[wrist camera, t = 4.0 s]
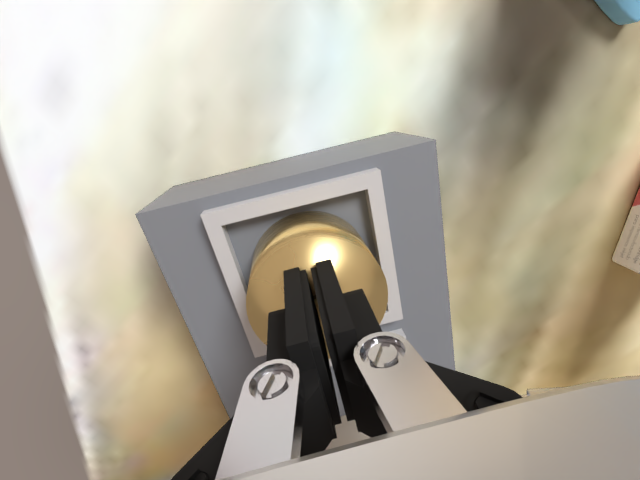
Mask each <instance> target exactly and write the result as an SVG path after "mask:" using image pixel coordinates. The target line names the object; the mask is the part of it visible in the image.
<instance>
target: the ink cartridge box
mask: <svg viewBox="0 0 640 480" xmlns="http://www.w3.org/2000/svg"><path fill="white" fill-rule="evenodd" d="M612 261H614V262H616V263H618V264H620V265H622V266H624V267H626V268H628V269H630V270H632V271H635V272H637V273H639V274H640V187H639V190H638V193H637V195H636V198H635V200H634V203H633V205H632V208H631V210H630V213H629V215H628V218H627V221H626V223H625V226H624V228H623V231H622V233H621V236H620V239H619V241H618V244H617V246H616V249H615V251H614V254H613V257H612Z"/></svg>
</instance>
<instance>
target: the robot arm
mask: <svg viewBox="0 0 640 480" xmlns="http://www.w3.org/2000/svg"><path fill="white" fill-rule="evenodd" d="M310 269H311V274H312V278H313V283H314V288H315V293H316V298H317V303H318V307H319V312H320V317H321V322H322V327H323V331H324V335H323V331H322V327H321V324H320V320H319V316H318V313H317V309H316V305H315V302H314V298H313V294H312V291H311V287H310V283H309V279H308V276H307V272H306V269H305V270H301V271H300V269H299V267H296V268H292V269H288V270H284V271H283V276H284V303H285V308H284V309H281V310H277V311H273V312H269V314H268V332H267V355H266V362H265V363H263V364H261V365H259V366H258V367H257V368H255V369H254V370H253V371H252V372H251V373H250V374H249V375H248V376H247V378H246V380H245V382H244V384H243V387H242V391H241V394H240V397H239V401H238V404H237V408H236V411H235V414H234V416H233V417H232V418H231V419H230V420H229V421H228V422H227V423H226V424H225V425H224V426H223V427H222V428H221V429H220V430H219V431H218V432H217V433H216V434H215V435H214V436H213V437H212V438H211V439H210V440H209V441H208V442H207V443H206V444H205V445H204V446H203V447H202V448H201V449H200V450H199V451H198V452H197V453H196V454H195V455H194V456H193V457H192V458H191V459H190V460H189V461H188V462H187V463H186V464H185V465H184V467H183V468H182V469H181V470H180V471H179V472H178V473H177V474H176V475H175V476H174V477H173V478H172V479H171V480H640V375H639V376H626V377H618V378H611V379H603V380H597V381H593V382H588V383H584V384H579V385H574V386H569V387H558V388H541V389H527V395H519V394H517V393H516V392H515V391H513V390H510V389H508V388H506V387H504V386H501V385H498V384H494V383H491V382H488V381H485V380H482V379H479V378H476V377H473V376H470V375H467V374H464V373H461V372H458V371H454V370H451V369H448V368H445V367H442V366H439V365H436V364H433V363H430V362H427V361H424V359H423V358H422V357H421V356H420V355H419V353H418V352H417V351H416V350H415V349H414V347H413V346H412V345H411V344H410V343H409V341H408V340H406V339H405V338H404V337H403V336H401V335H399V334H396V333H392V332H383V331H382V329H381V327H380V325H379V323H378V321H377V319H376V317H375V314H374V312H373V310H372V308H371V306H370V304H369V302H368V300H367V297H366V295H365V293H364V291H363V289H358V290H354V291H350V292H346V293H342V290H341V287H340V285H339V282H338V279H337V276H336V273H335V270H334V268H333V265H332V262H331V259H327V260H323V261H320V262H316V267H313V268H310ZM324 336H325V339H324ZM325 340H326V344H327V348H328V351H329V355H330V359H331V362H332V366H333V370H334V374H335V377H336V381H337V385H338V388H339V392H340V396H341V399H342V403H343V407H344V410H345V414H346V418H347V421H352V420H355V422H356V426H357V430H358V432H362V433H363V434H365V435H367V436H369V437H371V438H369V439H365V440H361V441H357V442H354V443H350V444H346V445H343V446H339V447H335V448H332V449H328V450H325V449H326V448H327V447H328V445H329V444H330V442H331V441H332V439H336V438H337V435H336V429H335V425H337V424H341V423H342V422H341V417H340V412H339V407H338V402H337V398H336V393H335V388H334V383H333V378H332V373H331V368H330V363H329V358H328V354H327V349H326V344H325Z"/></svg>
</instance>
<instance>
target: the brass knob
mask: <svg viewBox="0 0 640 480" xmlns="http://www.w3.org/2000/svg"><path fill="white" fill-rule="evenodd" d="M327 259H331V262H332V265H333V268H334V270H335V273H336V276H337V279H338V282H339V285H340V287H341V290H342V293H346V292H350V291H354V290H358V289H363V291H364V293H365V295H366V297H367V300H368V302H369V304H370V306H371V308H372V310H373V312H374V314H375V317H376V319H377V321H378V323H379V325H380V323H381V321H382V319H383V317H384V314H385V312H386V308H387V303H388V286H387V282H386V278H385V275H384V273H383V271H382V269H381V267H380V266H379V264H378V262H377V261H376V259H375V258H374V256H373V255H372V253H371V252H370V250H369V249H368V247H367V246H366V244H365V242H364V241H363V239H362V238H361V236H360V235H359V233H358V232H357V231H356V230H355V228H354V227H353V226H352V225H350V224H349V223H348V222H347V221H345V220H344V219H342V218H340V217H338V216H336V215H333V214H330V213H327V212H322V211H303V212H298V213H294V214H291V215H288V216H286V217H284V218H282V219H280V220H279V221H277V222H276V223H274V224H273V225H272V226H271V227H269V228H268V229H267V231H266V232H265V233H264V234H263V235H262V237H261V238H260V240H259V242H258V243H257V245H256V248H255V251H254V254H253V260H252V266H251V272H250V278H249V284H248V290H247V295H246V311H247V316H248V320H249V323H250V325H251V327H252V329H253V331H254V332H255V334H256V335H257V336H258V338H259V339H260V340H261V341H262V342H263V343H264V344H265V345H266V346H267V332H268V314H269V312H273V311H277V310H281V309H284V308H285V303H284V276H283V271H284V270H288V269H292V268H296V267H299V269H300V271H301V270H305V269H306V272H307V276H308V279H309V283H310V287H311V291H312V294H313V298H314V302H315V305H316V309H317V313H318V316H319V320H320V324H321V327H322V322H321V317H320V312H319V307H318V303H317V298H316V293H315V288H314V283H313V278H312V274H311V269H310V268H313V267H316V262H320V261H323V260H327ZM322 331H323V327H322ZM323 335H324V331H323ZM324 339H325V336H324ZM325 344H326V340H325ZM326 349H327V354H328V358H329V359H330V355H329V351H328V348H327V344H326Z"/></svg>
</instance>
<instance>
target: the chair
mask: <svg viewBox="0 0 640 480" xmlns="http://www.w3.org/2000/svg"><path fill="white" fill-rule="evenodd" d="M594 1H595V2H596V3H597V5H598V6H599V7H600V8H601V10H602V11H603V12H604V13H605V14H606V15H607V16H608V17H609V18H610V19H611V20H612V21H613V22H614V23H616V24H617V25H625V24H629V23H634V22H638V21H639V20H640V0H594Z"/></svg>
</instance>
